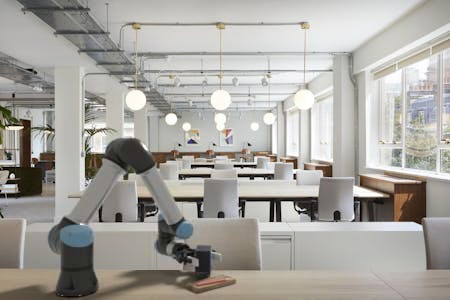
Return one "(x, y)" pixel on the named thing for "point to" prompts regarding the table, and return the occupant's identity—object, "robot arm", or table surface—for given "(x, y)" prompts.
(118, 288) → the table surface
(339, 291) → the table surface
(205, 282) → the carpenter pencil
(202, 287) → the wooden board
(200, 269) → the small box
